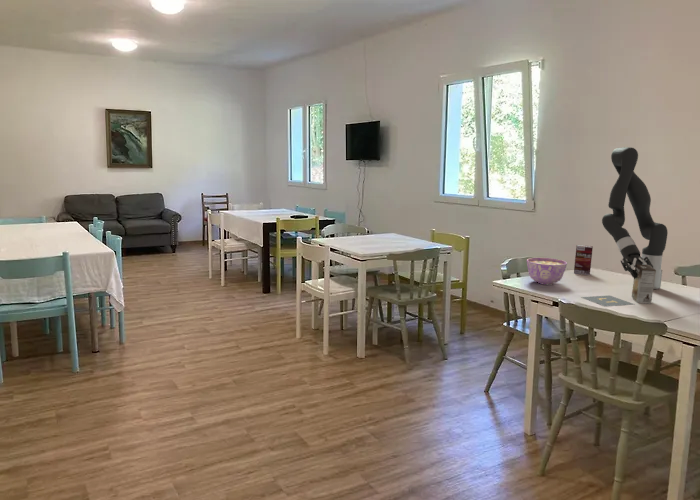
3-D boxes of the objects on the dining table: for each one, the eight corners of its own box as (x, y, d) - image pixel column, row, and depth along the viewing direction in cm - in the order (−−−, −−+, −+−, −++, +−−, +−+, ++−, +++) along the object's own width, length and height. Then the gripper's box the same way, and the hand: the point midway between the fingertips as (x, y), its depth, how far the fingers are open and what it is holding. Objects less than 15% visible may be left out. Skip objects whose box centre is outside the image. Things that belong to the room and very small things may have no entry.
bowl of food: (543, 288, 278) (545, 266, 276) (516, 280, 296) (518, 258, 294) (574, 285, 286) (575, 263, 284) (546, 277, 304) (547, 256, 302)
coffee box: (630, 296, 263) (635, 263, 259) (645, 297, 261) (649, 264, 258) (636, 303, 254) (641, 269, 250) (652, 303, 253) (656, 269, 249)
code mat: (609, 295, 267) (609, 295, 267) (634, 304, 251) (634, 304, 251) (581, 297, 262) (581, 297, 262) (604, 306, 247) (604, 306, 247)
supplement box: (573, 273, 315) (576, 246, 312) (573, 272, 319) (576, 244, 317) (590, 275, 312) (592, 247, 309) (590, 273, 316) (592, 246, 314)
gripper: (620, 244, 260) (636, 273, 251) (645, 243, 264) (661, 272, 255) (611, 253, 266) (626, 282, 257) (635, 252, 270) (651, 280, 261)
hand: (643, 277), depth 256 cm, fingers open, 8 cm apart
